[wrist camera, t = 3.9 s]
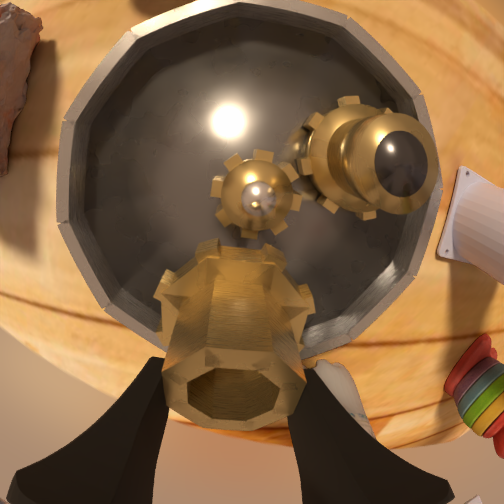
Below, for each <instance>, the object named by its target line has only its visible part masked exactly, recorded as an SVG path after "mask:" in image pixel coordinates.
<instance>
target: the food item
mask: <svg viewBox="0 0 504 504" xmlns="http://www.w3.org/2000/svg"><path fill="white" fill-rule="evenodd" d="M42 29H43V26H42V20H41V18H39V17H38V18H35V17H33V15H31V14H30V13H29V12H26V11H25V10H23V9H20V8H19V7H17V6H16V5H14V4H12V3H11V2H9V3H7V4H2V5H0V177H1V176H4V175H6V174H8V171H7V163H8V158H7V154H8V146H9V144H10V136H11V129H12V125H13V122H14V120H15V118H16V117H17V116H18V114H19V113H20V112H21V110H22V109H23V107H24V105H25V103H26V92H27V88H28V85H27V83H26V79H27V77H28V74H29V72H30V68H31V66H30V57H31V54H32V52H33V50H34V48H35V46H36V45H37V44H38V42H39V41H40V35H39V32H40V31H41V30H42Z"/></svg>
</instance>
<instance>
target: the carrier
mask: <svg viewBox="0 0 504 504" xmlns="http://www.w3.org/2000/svg"><path fill="white" fill-rule="evenodd" d="M131 30H132V33H131V32H129V31H127V32H126V33H125V34H124V35H123V36H122V37H121V39H120V40H119V41H118V42H117V43H116V44H115V45H114V47H113V48H112V49H111V50H110V51H109V53H108V54H107V55H106V56H105V58H104V59H103V60H102V61H101V63H100V64H99V65H98V67H97V68H96V69H95V71H94V72H93V73H92V75H91V76H90V78H89V79H88V80H87V82H86V83H85V85H84V86H83V88H82V89H81V91H80V92H79V94H78V95H77V97H76V98H75V100H74V101H73V103H72V105H71V106H70V108H69V110H68V111H67V113H66V115H65V116H64V119H66V120H67V121H62V127H61V135H60V144H59V154H58V167H57V190H56V214H57V222H59V223H61V224H59V225H58V228H59V230H60V232H61V234H62V237H63V239H64V241H65V243H66V245H67V247H68V249H69V251H70V253H71V255H72V257H73V259H74V261H75V263H76V265H77V267H78V269H79V270H80V272H81V274H82V276H83V278H84V279H85V281H86V283H87V285H88V287H89V288H90V290H91V292H92V293H93V295H94V297H95V298H96V300H97V302H98V303H99V305H100V307H101V308H104V307H106V308H105V310H104V311H105V312H106V313H108V314H109V315H110V316H112V317H113V318H115V319H116V320H117V321H119V322H120V323H122V324H123V325H125V326H126V327H127V328H129V329H130V330H132V331H133V332H135V333H136V334H138V335H139V336H141V337H143V338H144V339H146V340H147V341H149V342H150V343H152V344H154V345H155V346H157V347H158V348H160V349H162V350H163V351H165V352H167V350H168V346H163V345H162V343H161V341H160V340H159V338H158V336H157V334H156V330H157V327H158V325H159V322H160V319H161V318H162V311H161V301H159V300H157V299H155V298H153V296H154V294H155V292H156V290H157V287H158V285H159V283H160V281H161V279H162V277H163V275H164V273H165V271H166V269H168V270H170V271H172V272H174V273H175V272H176V271H177V270H179V269H180V268H181V267H182V266H184V265H185V264H186V263H187V262H189V261H190V260H191V259H193V258H194V257H195V252H196V249H197V246H198V244H199V243H201V242H204V241H208V240H212V239H215V238H219V240H220V243H221V246H229V247H238V248H247V249H257V250H261V249H262V247H263V246H264V244H265V243H267V244H269V245H271V246H272V247H274V248H276V249H278V250H280V251H282V252H283V254H284V256H285V259H286V261H287V265H286V267H285V269H286V270H287V272H288V273H289V274H290V275H291V277H292V278H293V279H294V280H295V282H296V283H297V284H298V286H299V285H302V284H306V283H307V285H308V287H309V289H310V291H311V294H312V296H313V300H314V306H315V312H316V313H313V314H310V315H307V319H306V322H305V325H304V329H303V332H302V338H303V341H304V344H305V346H304V348H303V349H302V350H301V351H300V352H299V355H300V359H301V360H303V359H306V358H309V357H312V356H315V355H318V354H320V353H323V352H326V351H328V350H331V349H334V348H336V347H339V346H342V345H344V344H347V343H349V342H351V338H352V339H353V340H354V339H356V338H357V337H358V336H359V335H360V334H361V333H362V332H363V331H364V330H365V329H366V328H367V327H369V326H370V325H371V324H372V323H373V322H374V321H375V320H376V319H377V318H378V317H379V316H380V315H381V314H382V313H383V312H384V311H385V310H386V309H387V308H388V307H389V306H390V305H391V304H392V303H393V302H394V301H395V300H396V299H397V297H398V296H399V295H400V294H401V293H402V292H403V291H404V290H405V289H406V288H407V287H408V286H409V284H410V283H411V282H412V281H413V280H414V279H415V278H414V277H413V276H412V275H414V276H417V273H418V270H419V268H420V265H421V262H422V260H423V257H424V254H425V251H426V248H427V245H428V242H429V239H430V236H431V233H432V229H433V226H434V223H435V219H436V216H437V212H438V208H439V204H440V201H441V197H442V192H443V190H440V188H443V183H442V176H441V169H440V163H439V158H438V152H437V147H436V143H435V138H434V134H433V129H432V125H431V121H430V117H429V114H428V110H427V106H426V103H425V100H424V96H423V95H419V94H420V93H421V90H420V89H419V88H418V87H417V85H416V84H415V83H414V82H413V80H412V79H411V78H410V77H409V76H408V74H407V73H406V72H405V71H404V70H403V69H402V67H401V66H400V65H399V64H398V63H397V62H396V61H395V60H394V59H393V57H392V56H391V55H390V54H389V53H388V52H387V51H386V50H385V49H384V48H383V47H382V46H381V45H380V44H379V43H378V42H377V41H376V40H375V39H374V38H373V37H372V36H371V35H370V34H369V33H368V32H367V31H365V30H364V29H363V28H362V27H361V26H360V25H359V24H358V23H357V22H355V21H354V20H353V19H352V18H351V17H350V18H349V19H348V20H347V15H345V14H342V13H339V12H336V11H333V10H330V9H327V8H324V7H321V6H318V5H314V4H311V3H307V2H303V1H299V0H198V1H195V2H192V3H189V4H186V5H183V6H181V7H178V8H175V9H173V10H170V11H168V12H165V13H163V14H160V15H158V16H156V17H153V18H151V19H149V20H147V21H145V22H142V23H140V24H138V25H136V26H134V27H132V28H131Z"/></svg>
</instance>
